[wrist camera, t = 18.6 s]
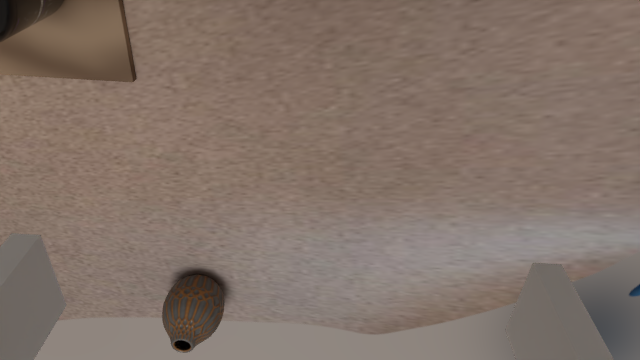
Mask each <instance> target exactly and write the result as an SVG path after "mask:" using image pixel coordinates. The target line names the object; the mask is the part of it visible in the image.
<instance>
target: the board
mask: <svg viewBox="0 0 640 360" xmlns="http://www.w3.org/2000/svg"><path fill="white" fill-rule="evenodd" d="M0 74H1V75H19V76H36V77H53V78H70V79H87V80H104V81H122V82H134V81H135V80H136V74H135V69H134V63H133V58H132V52H131V46H130V41H129V35H128V29H127V24H126V18H125V12H124V7H123V1H122V0H64V2H63V4H62V6H61V7H60V8H59V9H58V10H57V11H56V12H55V13H53V14H52V15H50V16H48V17H47V18H45V19H43V20H41V21H39V22H37V23H36V24H34V25H32V26H30V27H28V28H26V29H24V30H22V31H21V32H19V33H17V34H15V35H13V36H11V37H9V38H8V39H6V40H4V41H2V42H0Z"/></svg>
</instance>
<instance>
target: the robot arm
mask: <svg viewBox="0 0 640 360" xmlns="http://www.w3.org/2000/svg"><path fill="white" fill-rule="evenodd" d="M65 307H66V303H65V300H64V297H63V294H62V292H61V289H60V286H59V284H58V281H57V278H56V275H55V273H54V270H53V267H52V265H51V262H50V259H49V256H48V254H47V251H46V248H45V246H44V243H43V240H42V237H41V235H31V234H14V233H12V234H11V235H10V236H9V237H8V238H7V240H6V241H5V242H4V243H3V244H2V245H1V247H0V360H34V359H35V357H36V355H37V354H38V352H39V350H40V349H41V347H42V345H43V344H44V342H45V340H46V339H47V337H48V335H49V334H50V332H51V330H52V328H53V327H54V325H55V323H56V322H57V320H58V319H59V317H60V315H61V314H62V312H63V310H64V309H65ZM505 331H506V334H507V336H508V339H509V342H510V345H511V348H512V350H513V353H514V356H515V359H516V360H613V357H612V356H611V354H610V352H609V350H608V348H607V347H606V345H605V343H604V341H603V339H602V337H601V336H600V334H599V332H598V330H597V328H596V326H595V325H594V323H593V321H592V319H591V317H590V316H589V314H588V312H587V310H586V308H585V306H584V305H583V303H582V301H581V299H580V297H579V295H578V294H577V292H576V290H575V288H574V286H573V285H572V283H571V281H570V279H569V277H568V275H567V274H566V272H565V270H564V268H563V266H562V265H561V264H543V263H533V264H532V266H531V269H530V271H529V274H528V276H527V278H526V281H525V283H524V286H523V288H522V290H521V293H520V295H519V298H518V300H517V303H516V305H515V307H514V310H513V312H512V315H511V317H510V319H509V322H508V324H507V327H506V329H505Z"/></svg>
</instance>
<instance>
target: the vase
mask: <svg viewBox="0 0 640 360" xmlns="http://www.w3.org/2000/svg"><path fill="white" fill-rule="evenodd" d="M223 312H224V296H223V293H222V290H221V288H220V287H219V285H218V284H217V283H216V282H215V281H214V280H212V279H211V278H209V277H207V276H204V275H191V276H187V277H185V278H183V279H181V280H180V281H178V282H177V283H176V284H175V285H174V286H173V287H172V288H171V290H170V291H169V293H168V295H167V297H166V299H165V302H164V305H163V312H162V319H163V325H164V328H165V330H166V332H167V334H168V335H169V337H170V340H171V345H172V347H173V349H175V350H176V351H178V352H183V353H186V352H190V351H191V350H193V348H194V347H195V346H196V345H198V344H199V343H201V342H203V341H204V340H206V339H207V338H209V337H210V336H211V335H212V334H213V333H214V332H215V330H216V329H217V327H218V326H219V324H220V322H221V319H222V316H223Z"/></svg>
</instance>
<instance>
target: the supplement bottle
mask: <svg viewBox="0 0 640 360" xmlns="http://www.w3.org/2000/svg"><path fill="white" fill-rule="evenodd" d="M63 2H64V0H0V42H2V41H4V40H6V39H8V38H9V37H11V36H13V35H15V34H17V33H19V32H21V31H22V30H24V29H26V28H28V27H30V26H32V25H34V24H36V23H37V22H39V21H41V20H43V19H45V18H47V17H48V16H50V15H52V14H53V13H55V12H56V11H57V10H58V9H59V8H60V7H61V6H62V4H63Z"/></svg>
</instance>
